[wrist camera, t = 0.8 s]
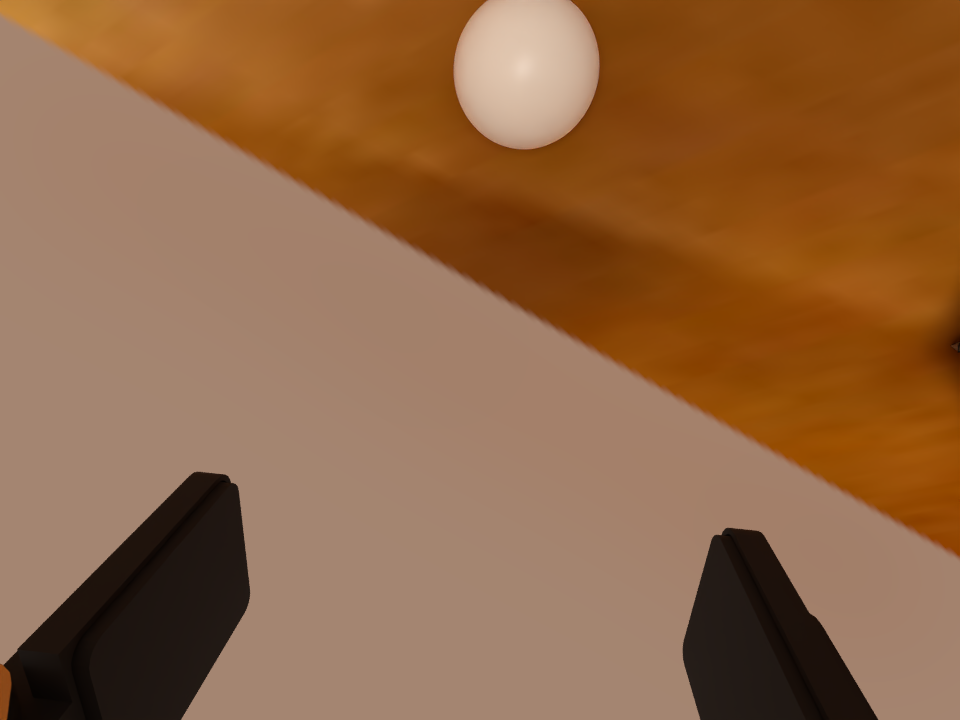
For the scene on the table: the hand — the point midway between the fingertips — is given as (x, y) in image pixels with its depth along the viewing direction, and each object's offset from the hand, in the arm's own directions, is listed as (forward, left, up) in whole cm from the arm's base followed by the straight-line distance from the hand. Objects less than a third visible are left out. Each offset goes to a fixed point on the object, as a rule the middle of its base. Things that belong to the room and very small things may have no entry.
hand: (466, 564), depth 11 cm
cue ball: (0, -10, -16) cm, 19 cm away
